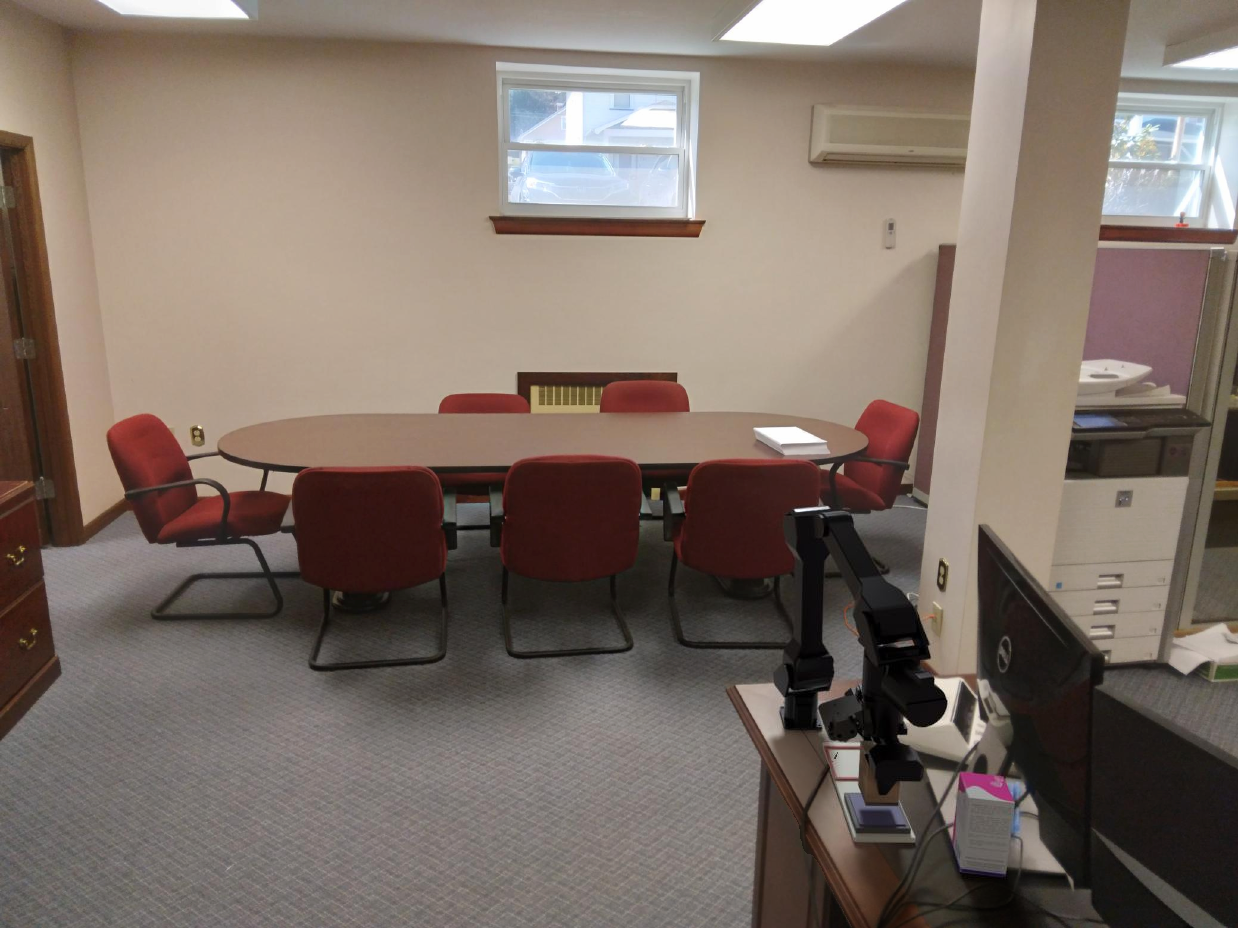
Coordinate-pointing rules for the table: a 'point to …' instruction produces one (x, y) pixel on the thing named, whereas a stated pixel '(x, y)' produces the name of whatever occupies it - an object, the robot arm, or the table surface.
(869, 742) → the stamp
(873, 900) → the table surface
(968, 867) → the supplement box
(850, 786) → the blotter board
